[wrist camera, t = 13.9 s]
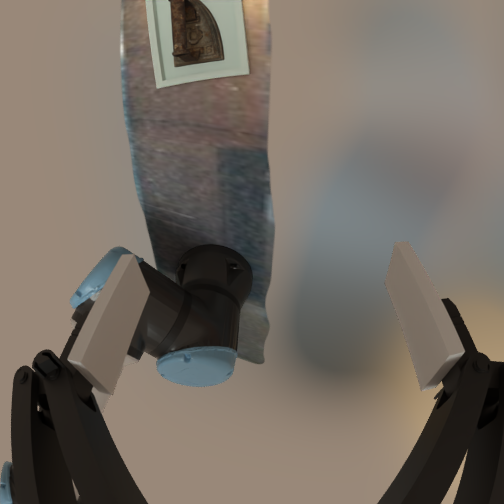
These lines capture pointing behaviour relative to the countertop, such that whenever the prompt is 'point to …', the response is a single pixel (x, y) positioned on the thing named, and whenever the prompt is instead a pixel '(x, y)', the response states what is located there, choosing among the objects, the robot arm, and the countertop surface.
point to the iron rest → (235, 63)
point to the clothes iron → (194, 34)
